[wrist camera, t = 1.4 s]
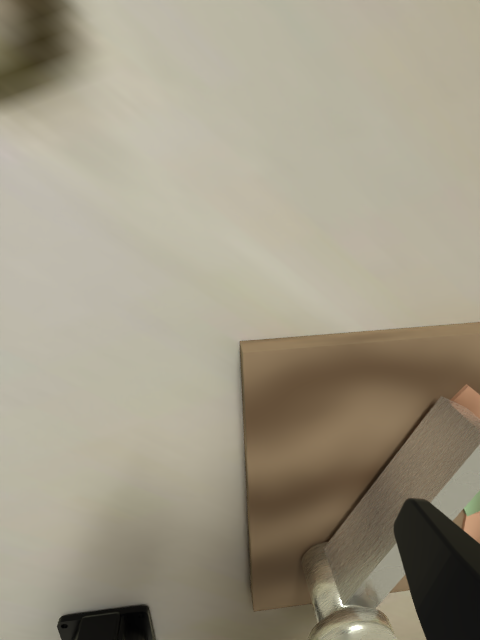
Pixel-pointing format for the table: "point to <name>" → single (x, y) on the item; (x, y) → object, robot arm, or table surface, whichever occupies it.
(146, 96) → the table surface
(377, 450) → the brown cutting board
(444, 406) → the bar with metal cap
